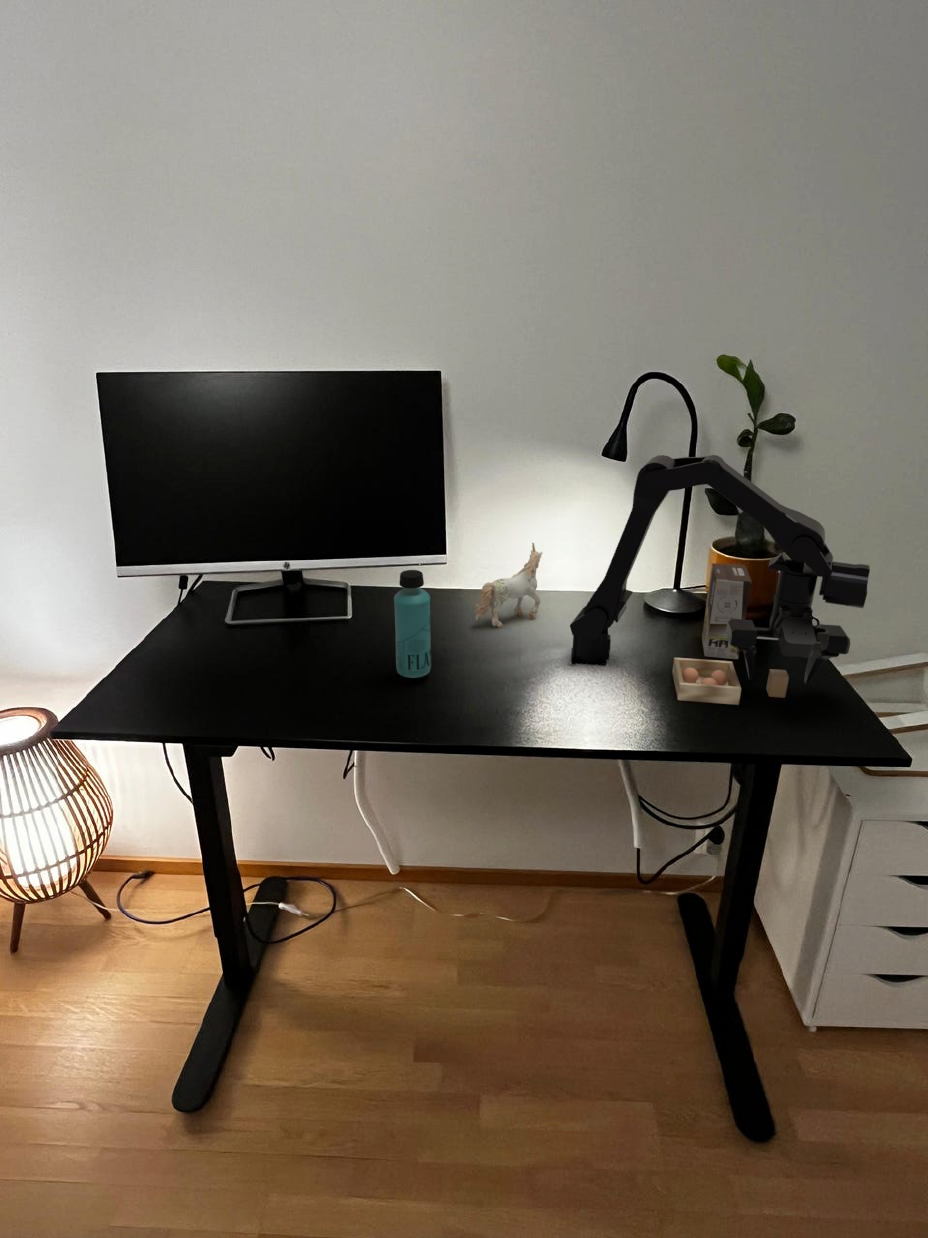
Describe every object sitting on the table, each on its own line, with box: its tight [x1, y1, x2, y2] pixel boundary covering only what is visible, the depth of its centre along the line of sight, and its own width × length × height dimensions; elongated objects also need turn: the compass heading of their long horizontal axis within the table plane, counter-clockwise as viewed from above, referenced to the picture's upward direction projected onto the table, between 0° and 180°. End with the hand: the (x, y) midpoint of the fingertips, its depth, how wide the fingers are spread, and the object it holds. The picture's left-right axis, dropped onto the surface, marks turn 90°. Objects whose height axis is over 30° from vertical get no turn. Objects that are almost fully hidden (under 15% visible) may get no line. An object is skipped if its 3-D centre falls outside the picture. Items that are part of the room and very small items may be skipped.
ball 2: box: [701, 678, 718, 685], centre depth 139 cm, size 3×3×3 cm
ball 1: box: [682, 668, 699, 683], centre depth 142 cm, size 3×3×3 cm
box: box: [672, 657, 742, 706], centre depth 140 cm, size 10×10×4 cm
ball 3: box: [711, 670, 728, 686], centre depth 141 cm, size 3×3×3 cm
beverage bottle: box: [393, 569, 433, 679], centre depth 141 cm, size 6×7×20 cm
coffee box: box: [701, 562, 753, 660], centre depth 152 cm, size 9×6×16 cm
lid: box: [765, 668, 790, 699], centre depth 139 cm, size 10×10×5 cm
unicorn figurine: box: [474, 542, 543, 629], centre depth 166 cm, size 7×20×13 cm, turn 139°
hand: (778, 680), depth 138 cm, fingers open, 9 cm apart
